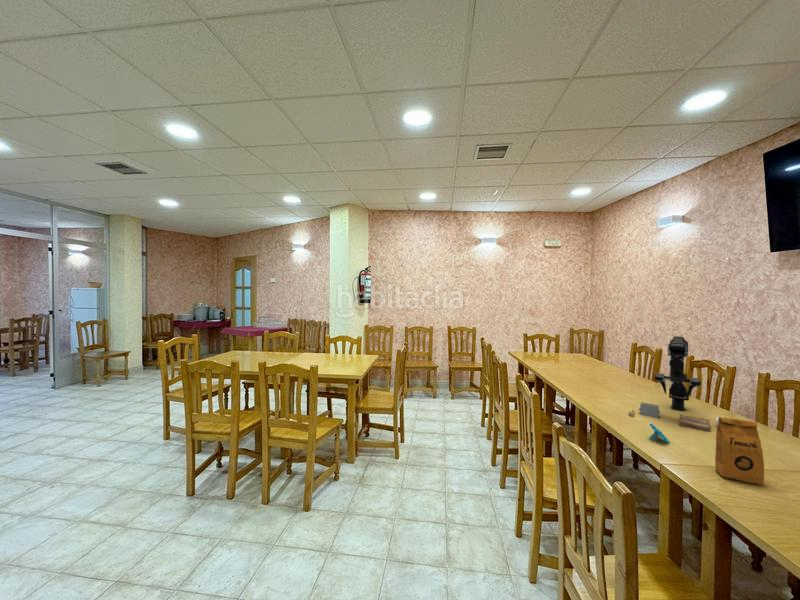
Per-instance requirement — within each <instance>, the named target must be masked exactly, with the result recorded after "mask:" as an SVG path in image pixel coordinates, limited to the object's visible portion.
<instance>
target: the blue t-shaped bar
mask: <svg viewBox="0 0 800 600" xmlns="http://www.w3.org/2000/svg"><path fill="white" fill-rule="evenodd" d="M649 426H650V427H651V429H652V430H653V433H652V434H651V435H650V437H648V439H649V440H650V441H652V440H653V439H655V438H658V437H659V438H661V439H662V440H663V441H664V442H665V443H666V444H670V441H669V439H668V438H667V437H666V436H665V435H664V434H663V432H662V430H661V431H660V429H659V428H657V427H656V426H655V425H653V423H649Z"/></svg>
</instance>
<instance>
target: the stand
mask: <svg viewBox="0 0 800 600" xmlns="http://www.w3.org/2000/svg"><path fill="white" fill-rule="evenodd" d="M678 417H679V418H678V426H679V427H683V428H687V429H693V430H698V431H702V432H706V433H707V432H709V433H711V424H710V420H709V419H706V418H700V417H695V416H689V415H684V414H679V416H678Z"/></svg>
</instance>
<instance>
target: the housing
mask: <svg viewBox="0 0 800 600" xmlns="http://www.w3.org/2000/svg"><path fill="white" fill-rule="evenodd" d="M638 411H639V413H640V416H644V417H650V418H655V419H659V415H661V409H660V406H659V405H658V404H653V403H647V402H643V401H642V402H641V403H640V405H639V406H638Z"/></svg>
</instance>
